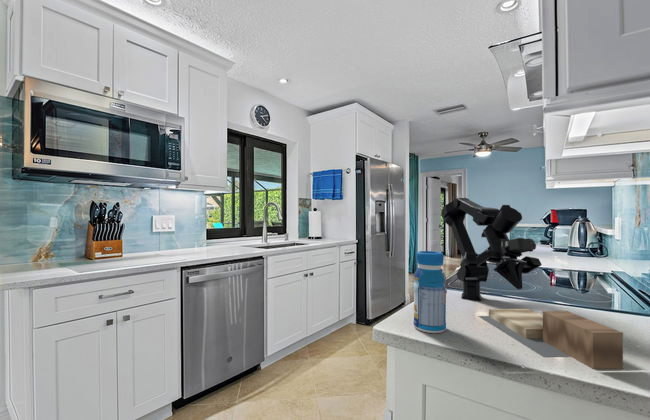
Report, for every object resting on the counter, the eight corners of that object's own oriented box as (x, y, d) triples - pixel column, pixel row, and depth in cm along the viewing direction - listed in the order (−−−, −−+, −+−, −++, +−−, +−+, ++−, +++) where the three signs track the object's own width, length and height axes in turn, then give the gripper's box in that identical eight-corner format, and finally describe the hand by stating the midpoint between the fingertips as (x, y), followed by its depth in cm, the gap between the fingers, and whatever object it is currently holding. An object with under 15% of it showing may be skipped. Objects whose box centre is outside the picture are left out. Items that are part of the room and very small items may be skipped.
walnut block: (542, 311, 72) (593, 332, 59) (567, 311, 72) (622, 332, 59) (542, 340, 72) (593, 368, 59) (567, 340, 72) (622, 368, 59)
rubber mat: (477, 317, 89) (477, 316, 89) (527, 316, 90) (527, 315, 90) (543, 358, 64) (543, 356, 64) (612, 357, 64) (612, 356, 64)
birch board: (488, 316, 89) (488, 308, 89) (528, 316, 89) (528, 308, 89) (525, 338, 73) (525, 329, 73) (573, 337, 74) (573, 328, 74)
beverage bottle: (429, 336, 75) (430, 255, 75) (406, 325, 82) (406, 251, 82) (453, 331, 78) (454, 253, 79) (429, 320, 86) (429, 249, 86)
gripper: (492, 221, 86) (514, 271, 76) (543, 231, 90) (571, 280, 81) (467, 242, 94) (484, 289, 84) (515, 250, 99) (537, 296, 89)
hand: (520, 288), depth 84 cm, fingers closed
